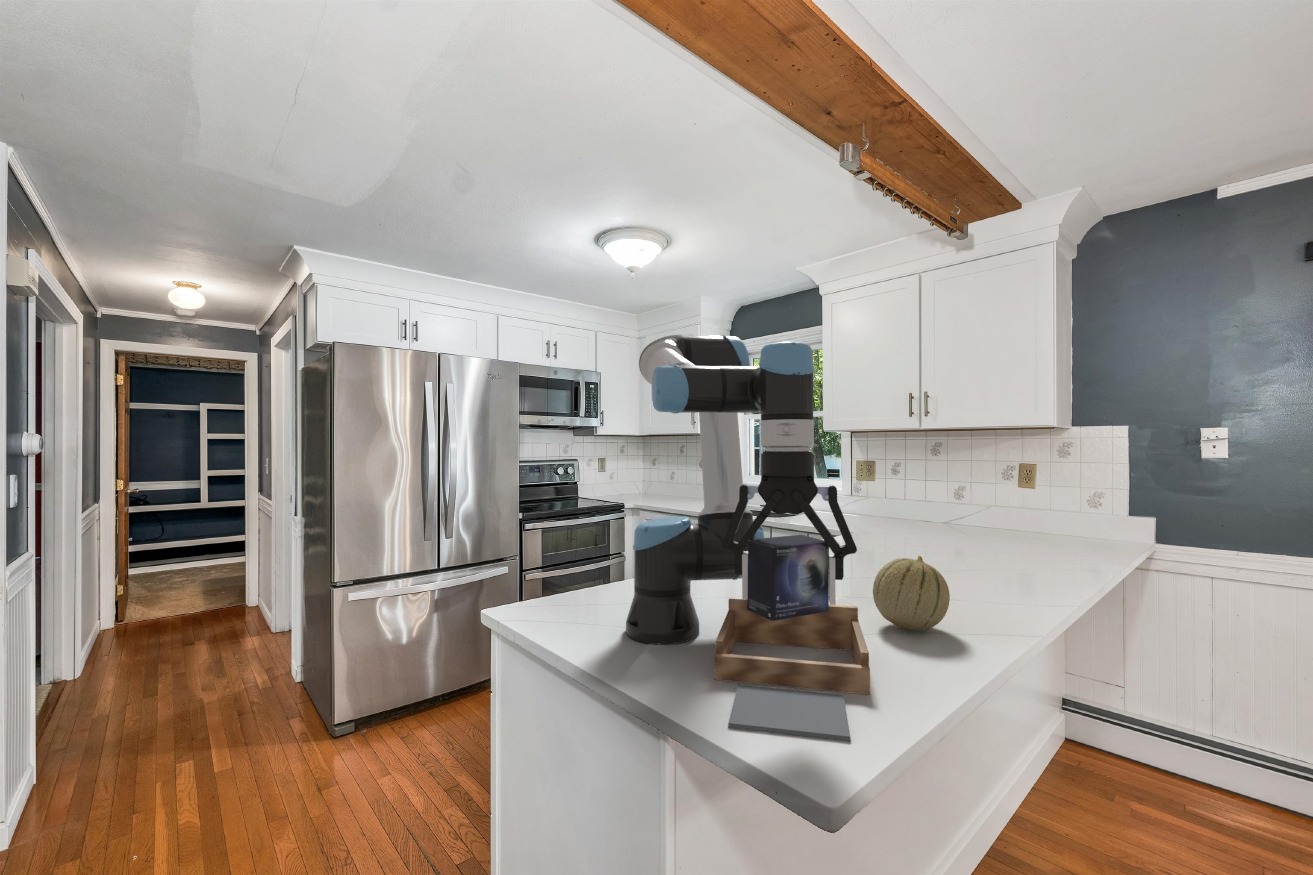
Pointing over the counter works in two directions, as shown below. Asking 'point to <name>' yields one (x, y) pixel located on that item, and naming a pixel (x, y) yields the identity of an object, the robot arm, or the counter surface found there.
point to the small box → (788, 576)
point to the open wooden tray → (804, 631)
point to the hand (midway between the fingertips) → (788, 599)
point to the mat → (790, 712)
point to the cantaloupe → (911, 594)
